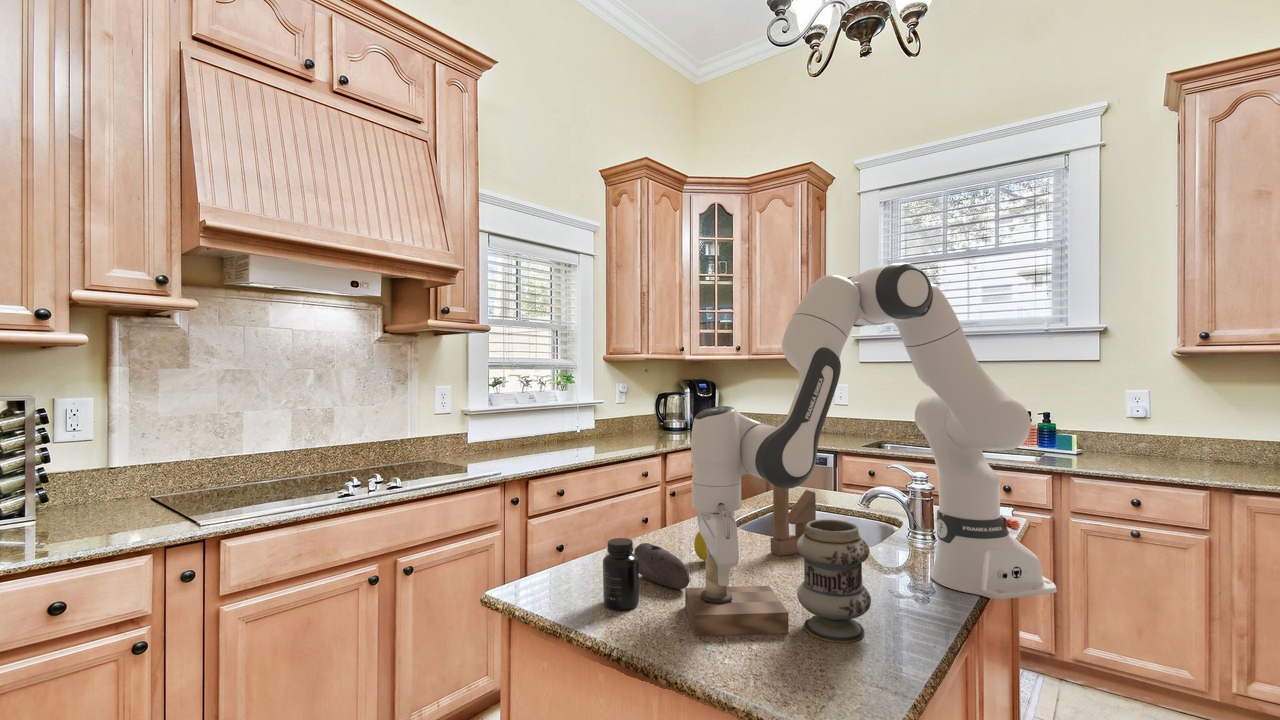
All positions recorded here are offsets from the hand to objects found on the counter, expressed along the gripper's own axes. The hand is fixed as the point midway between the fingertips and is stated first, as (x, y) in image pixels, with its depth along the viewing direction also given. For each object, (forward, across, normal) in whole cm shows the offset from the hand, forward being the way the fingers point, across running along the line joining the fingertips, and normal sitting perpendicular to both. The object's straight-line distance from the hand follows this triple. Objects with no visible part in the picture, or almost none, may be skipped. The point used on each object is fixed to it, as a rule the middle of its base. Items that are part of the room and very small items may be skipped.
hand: (717, 574), depth 108 cm
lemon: (+8, +29, -3) cm, 30 cm away
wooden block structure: (+8, +35, -25) cm, 44 cm away
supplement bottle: (+8, +7, +17) cm, 20 cm away
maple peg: (+7, 0, 0) cm, 7 cm away
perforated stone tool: (+8, +17, +8) cm, 21 cm away
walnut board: (+8, -1, -3) cm, 8 cm away
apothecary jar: (+8, -6, -19) cm, 21 cm away
